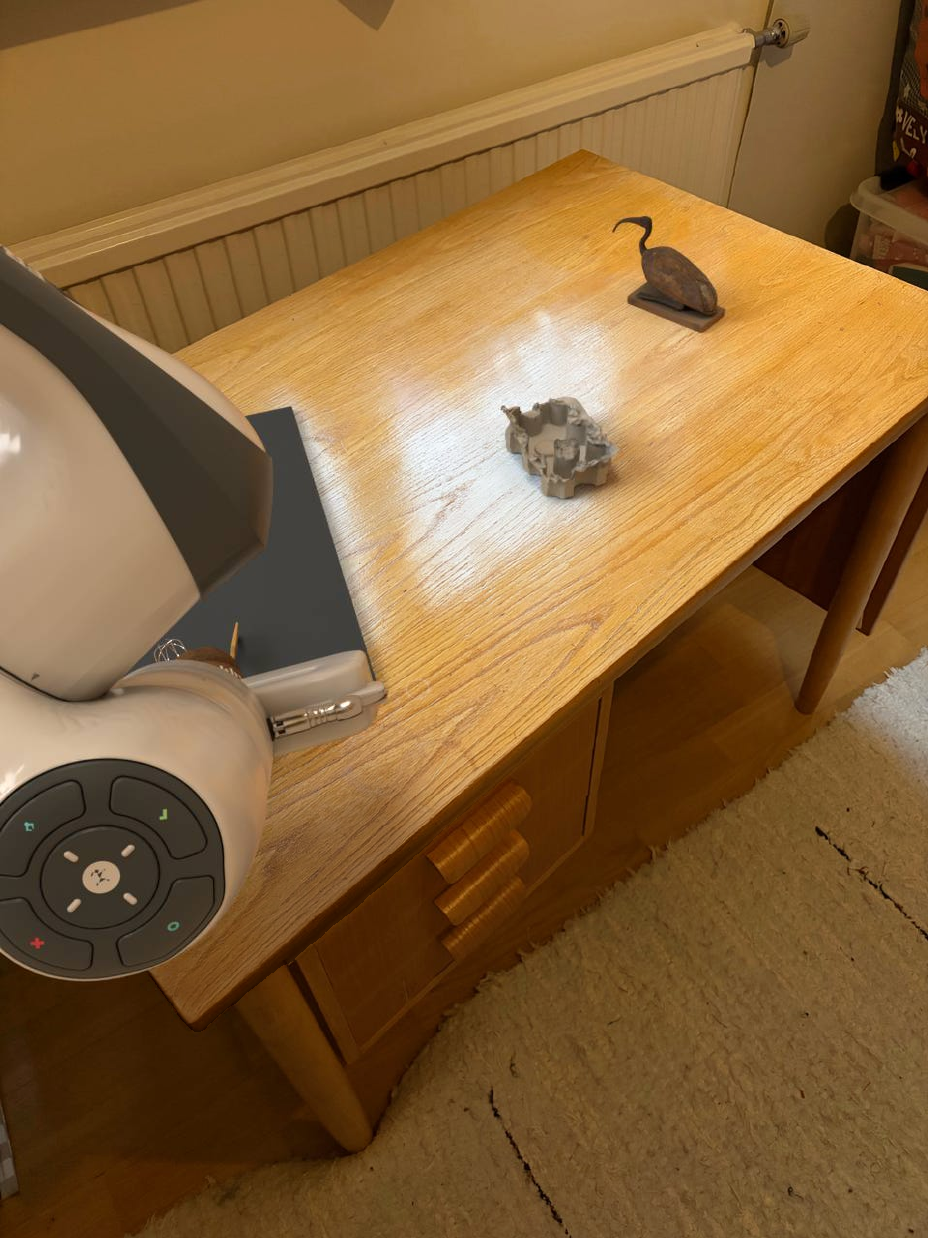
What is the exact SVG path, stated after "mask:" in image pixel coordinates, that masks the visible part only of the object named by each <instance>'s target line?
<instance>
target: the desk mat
mask: <svg viewBox="0 0 928 1238" xmlns="http://www.w3.org/2000/svg"><path fill="white" fill-rule="evenodd" d="M244 416H245V417H246V419H247V420H248V421H249V423H250V424H251V425H252V427H253V428H254V430H255V431H256V433H257V435H258V436H259V438H260V440H261V442H262V444H263V446H264V449H265V451H266V453H267V454H268V455H269V456H270V457H272V464H273V500H272V511H271V520H270V527H269V533H268V538H267V543H266V549H265V551H264V552H262V553H261V554H260V555H259V556H258V557H256V558H255V559H254V560H253V561H252V562H250V563H249V564H248V565H247V566H246V567H244V568H243V569H242V570H241V571H240V572H238V573H237V574H236V575H235V576H234V577H232V578H231V579H230V580H229V581H228V582H226V583H225V584H224V585H223V586H222V587H220V588H219V589H218V590H217V591H216V592H214V593H213V594H212V595H211V596H210V597H208V598H207V599H206V600H205V601H204V602H201V601H200V600H199V601H198V602H197V603H196V604H195V605H194V606H193V607H192V608H191V609H190V610H189V611H188V612H187V613H186V614H185V615H184V616H183V617H182V618H181V619H180V620H179V621H178V622H177V623H176V624H175V625H174V626H173V627H172V628H171V629H170V630H169V631H168V632H167V633H166V634H165V635H164V636H163V637H162V638H161V639H160V640H159V641H158V642H157V643H156V644H155V645H154V646H153V647H152V648H151V649H150V650H149V651H148V652H147V653H146V654H145V655H144V656H143V657H142V658H141V659H140V660H139V661H138V662H137V663H136V664H135V665H134V666H133V667H132V668H131V669H130V670H129V671H128V672H127V673H126V674H125V675H124V676H123V677H122V678H124V677H125V676H127V675H128V674H130V673H132V672H134V671H136V670H137V669H140V668H142V667H145V666H147V665H150V664H154V663H157V662H162V661H166V660H167V661H168V658H169V660H174V659H175V658H177V654H178V655H181V654H182V653H184V652H186V651H189V650H191V649H195V648H201V647H212V648H217V649H220V650H223V651H225V652H227V653H228V654H229V655H230V653H231V643H232V638H233V634H234V630H235V625H236V622H238V634H237V635H238V639H237V648H236V656H235V661H236V663H237V665H238V666H239V668H240V671H241V674H242V675H243V676H244V678H248V677H251V676H255V675H259V674H263V673H266V672H270V671H274V670H277V669H281V668H285V667H289V666H292V665H296V664H300V663H304V662H307V661H311V660H315V659H319V658H322V657H326V656H330V655H334V654H338V653H342V652H346V651H353V650H361V651H363V652H364V653H365V654H366V657H367V661H368V664H369V668H370V671H371V675H372V679H373V681H377V679H376V676H375V671H374V669H373V666H372V663H371V660H370V656H369V652H368V650H367V649H368V648H367V646H366V643H365V640H364V637H363V634H362V629H361V627H360V624H359V620H358V617H357V613H356V611H355V608H354V605H353V601H352V598H351V594H350V590H349V588H348V585H347V582H346V579H345V575H344V572H343V569H342V566H341V562H340V559H339V556H338V552H337V549H336V546H335V542H334V539H333V536H332V533H331V530H330V527H329V523H328V520H327V516H326V514H325V510H324V508H323V504H322V501H321V498H320V494H319V491H318V488H317V484H316V482H315V478H314V475H313V472H312V469H311V464H310V462H309V459H308V456H307V452H306V449H305V445H304V442H303V440H302V436H301V432H300V430H299V426H298V422H297V420H296V417H295V414H294V410H293V407H292V405H289V406H284V407H279V408H275V409H270V410H266V411H262V412H257V413H252V414H248V415H244ZM167 638H168V639H167ZM166 639H167V641H166ZM169 640H170V641H171V640H173V641H171V642H170V641H169ZM178 640H179V641H178ZM180 641H181V642H180ZM159 642H162V643H159ZM168 642H169V643H168ZM158 643H159V646H158ZM163 643H164V644H163ZM167 643H168V644H171V643H172V644H177V645H173V646H172V645H168V646H169V647H168V646H167V645H166V646H165V644H167ZM181 643H182V644H183V645H182V644H181ZM162 645H164V646H165V647H164V646H162ZM178 645H180V646H182V647H183V646H184V647H185V649H186V651H185V649H184V647H183V648H182V647H180V646H178ZM160 646H161V647H160ZM158 647H160V648H158ZM163 647H164V648H163ZM170 647H171V648H172V649H173V650H174V648H175V650H176V653H177V654H176V653H175V652H174V651H175V650H174V651H173V650H172V649H171V648H170ZM173 647H174V648H173ZM157 648H158V649H157ZM162 648H163V650H162ZM166 648H167V653H166ZM156 649H157V650H156ZM160 649H161V650H162V653H163V655H164V657H165V658H164V657H163V655H162V653H160V652H161V651H160ZM155 650H156V651H155ZM154 652H155V656H154ZM159 654H160V657H159ZM167 654H168V657H167ZM155 657H156V659H155ZM165 659H166V660H165ZM156 660H157V661H156ZM122 678H121V679H122Z"/></svg>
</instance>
